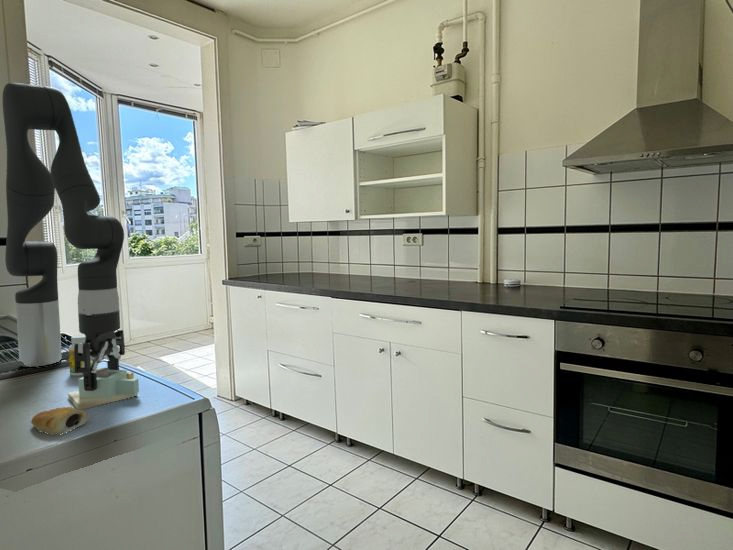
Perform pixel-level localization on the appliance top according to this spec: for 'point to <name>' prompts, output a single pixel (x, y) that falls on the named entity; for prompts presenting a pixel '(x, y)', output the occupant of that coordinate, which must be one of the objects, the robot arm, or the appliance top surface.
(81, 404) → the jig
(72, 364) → the supplement bottle
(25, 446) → the appliance top surface
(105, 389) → the pale green hollow block
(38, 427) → the pastry
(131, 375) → the pin
